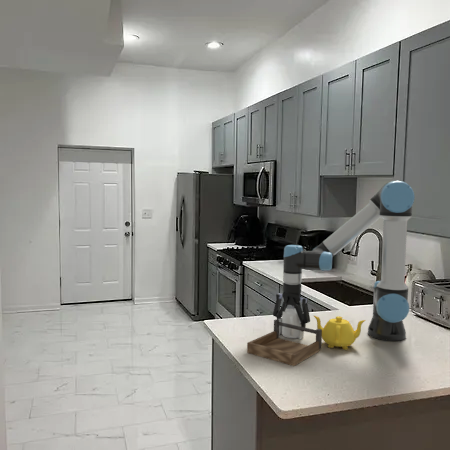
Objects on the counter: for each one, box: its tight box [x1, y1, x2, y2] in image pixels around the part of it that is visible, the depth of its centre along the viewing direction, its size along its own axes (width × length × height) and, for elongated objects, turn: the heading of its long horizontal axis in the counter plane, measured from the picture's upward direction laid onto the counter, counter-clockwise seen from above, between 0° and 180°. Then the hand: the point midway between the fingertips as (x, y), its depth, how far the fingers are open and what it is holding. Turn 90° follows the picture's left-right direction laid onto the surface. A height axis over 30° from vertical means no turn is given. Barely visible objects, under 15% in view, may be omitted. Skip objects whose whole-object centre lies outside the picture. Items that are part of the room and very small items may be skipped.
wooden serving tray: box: [246, 318, 323, 367], centre depth 173 cm, size 20×20×8 cm
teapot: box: [313, 315, 366, 351], centre depth 180 cm, size 20×15×12 cm
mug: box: [281, 308, 301, 339], centre depth 190 cm, size 12×8×10 cm
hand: (290, 336), depth 191 cm, fingers open, 9 cm apart
